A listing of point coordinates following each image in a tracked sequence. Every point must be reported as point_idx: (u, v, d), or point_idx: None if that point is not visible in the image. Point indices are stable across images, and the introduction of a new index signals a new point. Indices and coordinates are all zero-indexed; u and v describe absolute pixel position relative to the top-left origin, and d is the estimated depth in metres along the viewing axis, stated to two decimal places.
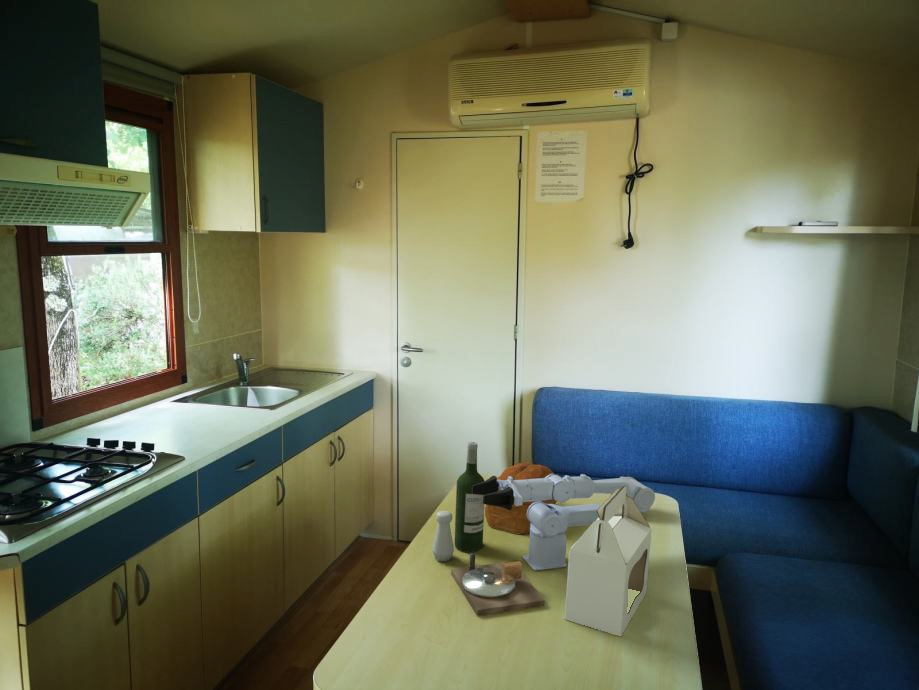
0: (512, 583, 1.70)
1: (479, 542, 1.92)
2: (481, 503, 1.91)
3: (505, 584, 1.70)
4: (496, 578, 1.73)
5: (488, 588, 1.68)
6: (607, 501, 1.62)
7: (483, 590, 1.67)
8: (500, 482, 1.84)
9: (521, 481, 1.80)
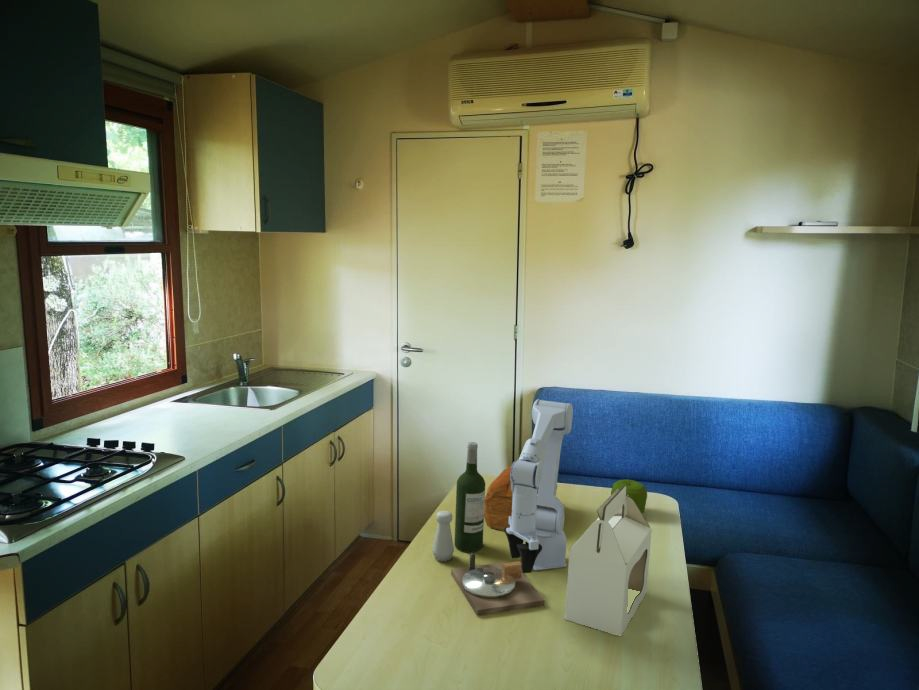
0: (512, 583, 1.70)
1: (479, 542, 1.92)
2: (481, 503, 1.91)
3: (505, 584, 1.70)
4: (496, 578, 1.73)
5: (488, 588, 1.68)
6: (607, 501, 1.62)
7: (483, 590, 1.67)
8: None
9: (513, 519, 1.63)
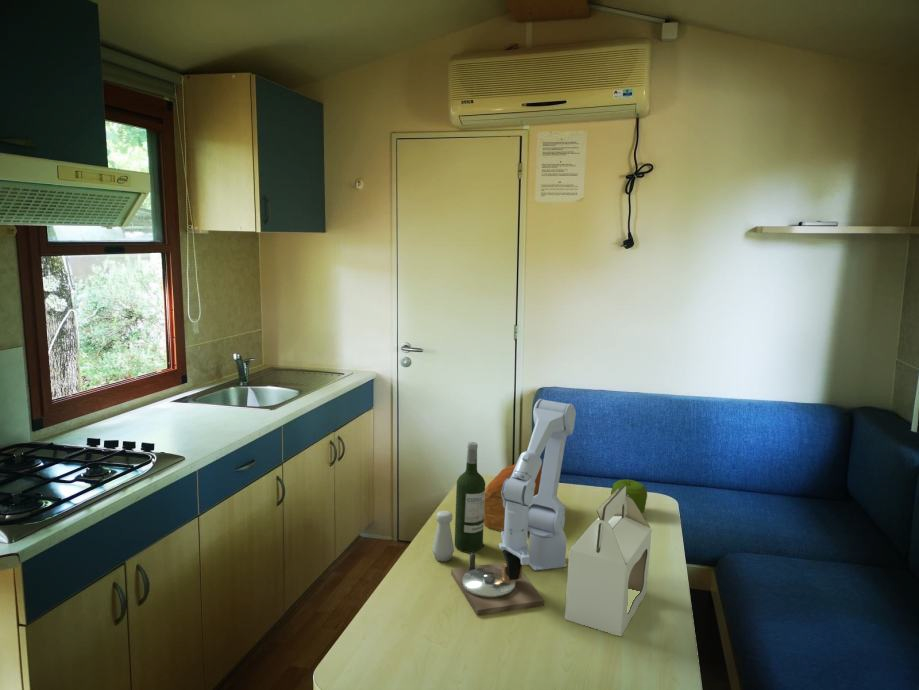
0: (512, 583, 1.70)
1: (479, 542, 1.92)
2: (481, 503, 1.91)
3: (505, 584, 1.70)
4: (496, 578, 1.73)
5: (488, 588, 1.68)
6: (607, 501, 1.62)
7: (483, 590, 1.67)
8: None
9: (505, 535, 1.68)
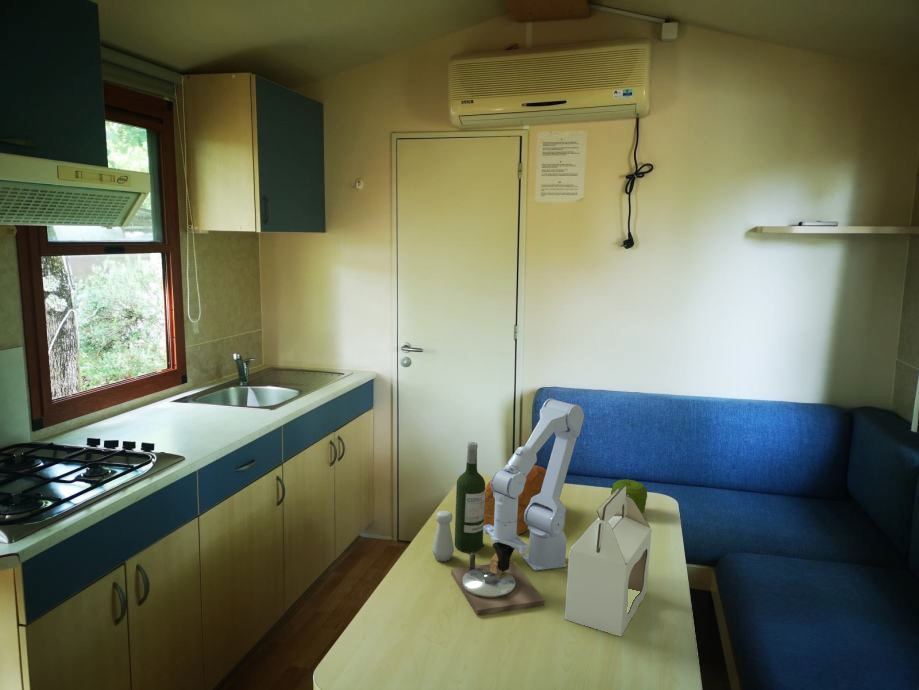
0: (506, 573, 1.75)
1: (479, 542, 1.92)
2: (481, 503, 1.91)
3: (504, 577, 1.74)
4: None
5: (500, 586, 1.69)
6: (607, 501, 1.62)
7: (501, 589, 1.67)
8: None
9: (498, 528, 1.72)
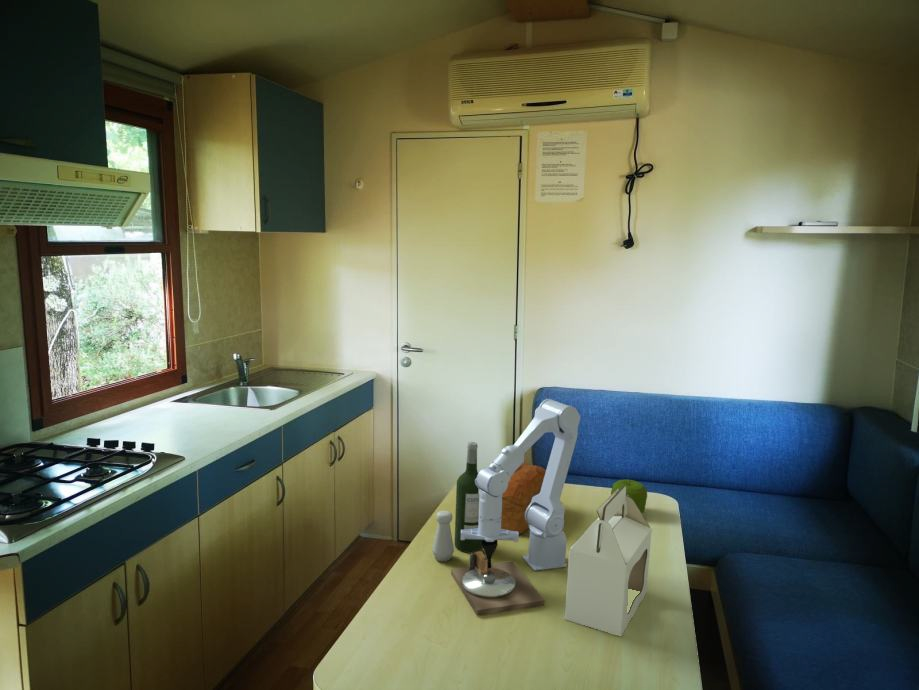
0: (492, 569, 1.77)
1: (479, 542, 1.92)
2: None
3: (495, 572, 1.76)
4: None
5: (504, 581, 1.71)
6: (607, 501, 1.62)
7: (509, 584, 1.70)
8: None
9: (492, 527, 1.73)
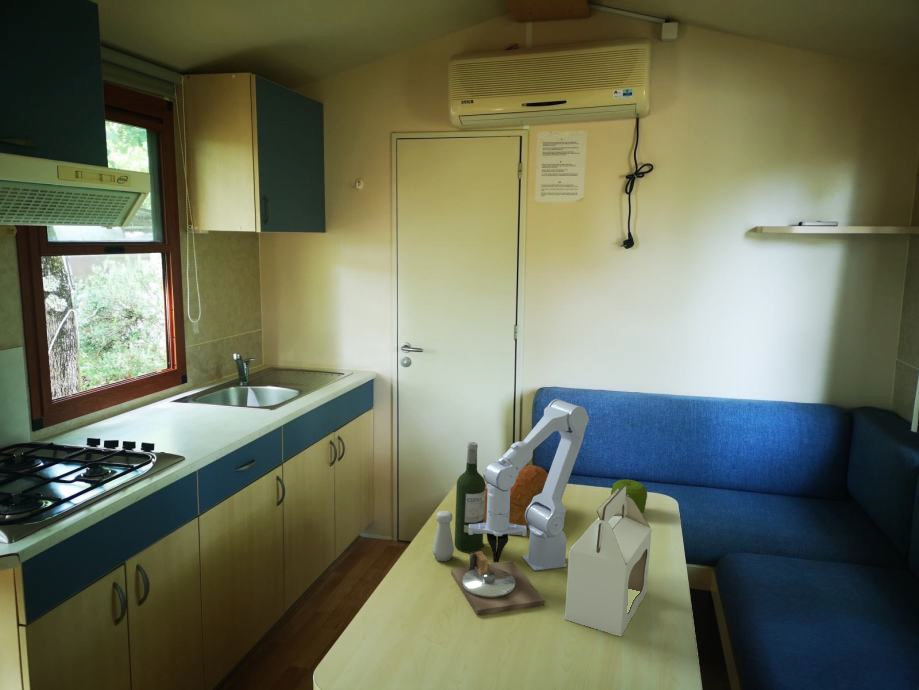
0: (492, 569, 1.77)
1: (479, 542, 1.92)
2: (481, 503, 1.91)
3: (495, 572, 1.76)
4: None
5: (504, 581, 1.71)
6: (607, 501, 1.62)
7: (509, 584, 1.70)
8: None
9: (500, 521, 1.73)
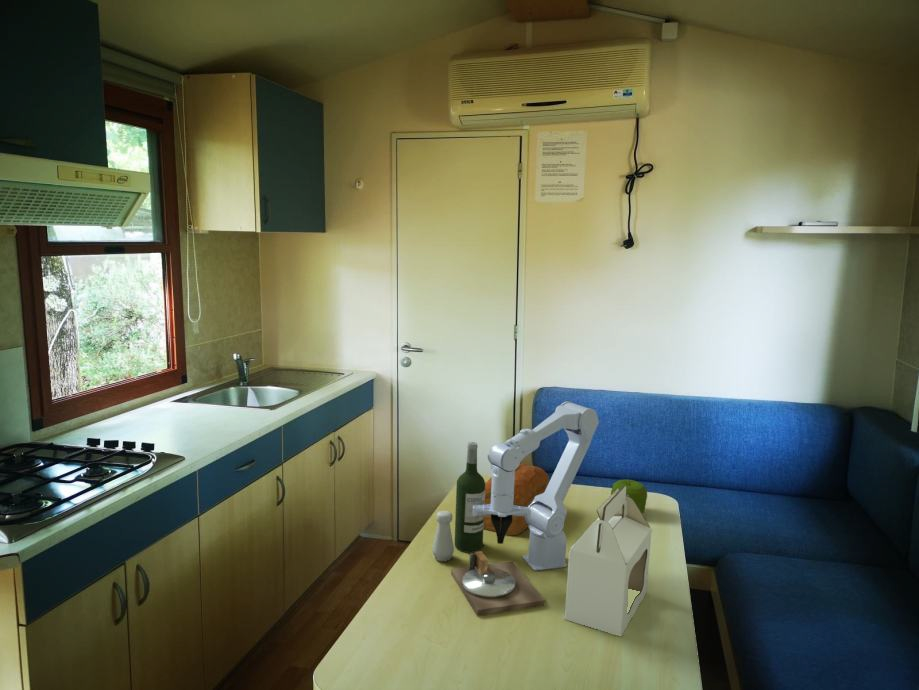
0: (492, 569, 1.77)
1: (479, 542, 1.92)
2: (481, 503, 1.91)
3: (495, 572, 1.76)
4: None
5: (504, 581, 1.71)
6: (607, 501, 1.62)
7: (509, 584, 1.70)
8: None
9: (505, 502, 1.73)
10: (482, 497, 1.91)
